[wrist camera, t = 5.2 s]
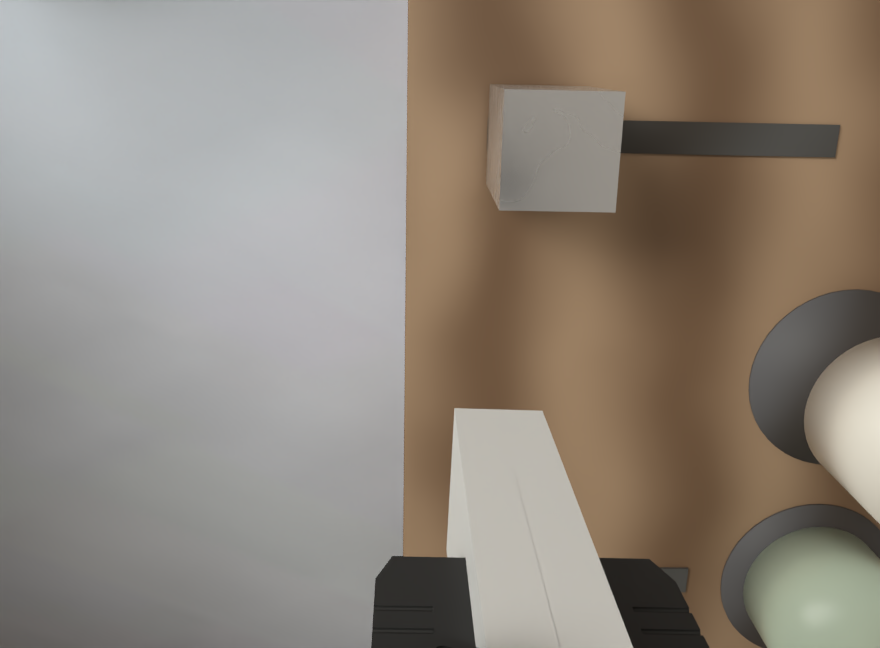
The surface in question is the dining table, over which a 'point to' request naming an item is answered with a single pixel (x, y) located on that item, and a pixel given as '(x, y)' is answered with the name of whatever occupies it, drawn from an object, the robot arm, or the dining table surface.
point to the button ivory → (849, 423)
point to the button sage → (815, 591)
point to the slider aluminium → (554, 147)
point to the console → (651, 271)
